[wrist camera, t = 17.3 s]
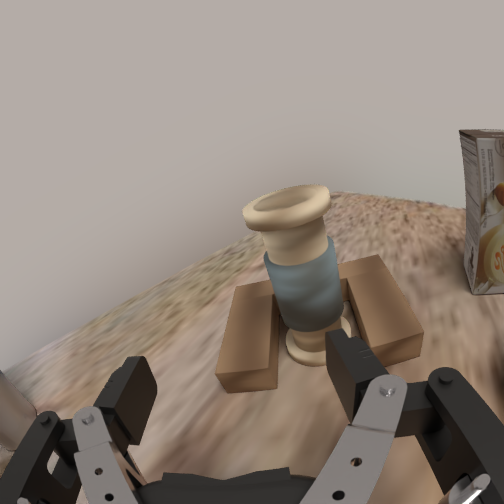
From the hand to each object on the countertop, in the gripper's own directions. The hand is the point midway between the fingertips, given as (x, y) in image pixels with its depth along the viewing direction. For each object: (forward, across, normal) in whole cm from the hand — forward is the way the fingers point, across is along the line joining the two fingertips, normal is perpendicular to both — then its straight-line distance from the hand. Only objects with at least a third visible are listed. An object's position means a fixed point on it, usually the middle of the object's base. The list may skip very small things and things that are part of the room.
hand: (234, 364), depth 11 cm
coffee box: (+9, -29, +5) cm, 30 cm away
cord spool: (+12, -6, +8) cm, 16 cm away
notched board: (+13, -7, +8) cm, 16 cm away
